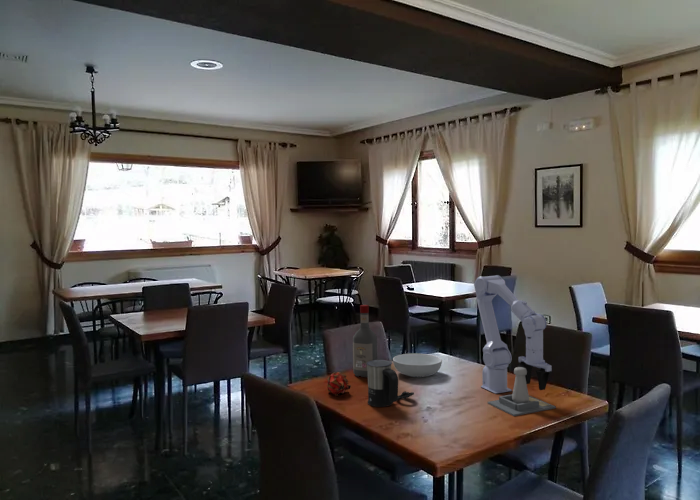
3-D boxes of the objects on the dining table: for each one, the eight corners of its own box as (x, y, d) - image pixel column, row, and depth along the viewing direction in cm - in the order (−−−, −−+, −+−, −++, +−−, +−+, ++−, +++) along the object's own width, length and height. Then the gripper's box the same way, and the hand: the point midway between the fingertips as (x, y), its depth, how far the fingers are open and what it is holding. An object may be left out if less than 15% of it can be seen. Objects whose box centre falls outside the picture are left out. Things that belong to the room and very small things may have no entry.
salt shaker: (529, 407, 180) (529, 370, 180) (512, 406, 182) (511, 369, 181) (528, 402, 186) (528, 366, 185) (511, 401, 187) (511, 365, 187)
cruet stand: (487, 403, 187) (487, 396, 187) (527, 396, 194) (527, 389, 194) (513, 416, 174) (513, 408, 174) (555, 408, 181) (555, 400, 181)
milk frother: (362, 404, 189) (361, 363, 188) (386, 392, 201) (386, 354, 201) (395, 412, 180) (394, 369, 180) (418, 399, 193) (418, 359, 192)
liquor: (371, 378, 221) (369, 307, 220) (351, 375, 225) (350, 306, 224) (379, 372, 229) (378, 304, 228) (360, 370, 233) (359, 303, 232)
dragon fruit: (335, 391, 209) (343, 405, 197) (318, 381, 206) (325, 395, 195) (348, 374, 209) (356, 387, 198) (331, 364, 206) (339, 376, 195)
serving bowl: (446, 381, 215) (445, 364, 215) (394, 382, 215) (394, 365, 215) (437, 367, 236) (437, 352, 235) (391, 368, 236) (391, 353, 236)
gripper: (558, 351, 180) (558, 390, 181) (529, 343, 194) (529, 379, 194) (542, 354, 178) (542, 393, 178) (513, 345, 191) (513, 382, 192)
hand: (534, 386), depth 186 cm, fingers open, 7 cm apart
